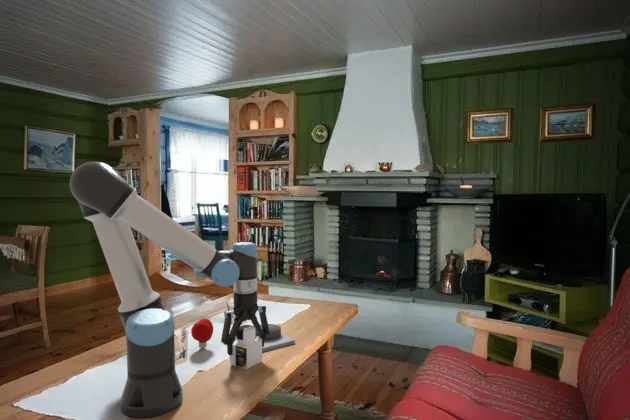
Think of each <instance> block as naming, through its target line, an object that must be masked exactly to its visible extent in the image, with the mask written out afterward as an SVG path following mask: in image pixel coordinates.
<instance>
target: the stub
mask: <svg viewBox="0 0 630 420" xmlns="http://www.w3.org/2000/svg"><path fill="white" fill-rule="evenodd" d="M260 327H261V329H262V325H261V324H260ZM268 327H269V332H270V333H269V335H266V338H265V339H264V341H267V340H274V339H277V338H279V337H280V336H281V333H282V327H281V326H280V325H278V324H273V323H268ZM262 331H263V330H262ZM255 337H259V336H258V334H257V332H256V330H255Z"/></svg>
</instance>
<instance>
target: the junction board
mask: <svg viewBox="0 0 630 420" xmlns="http://www.w3.org/2000/svg"><path fill="white" fill-rule="evenodd" d="M234 341H236V338H235V340H234ZM295 343H296V339H294V338H292V337H290V336H289V335H286V334H284V333H282V332H281V336H280V337H279V338H277V339H274V340H267V341H264V347H262V353H263V352H267V351H271V350H273V349H278V348H283V347H286V346H290V345H293V344H295Z"/></svg>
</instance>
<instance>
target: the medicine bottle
mask: <svg viewBox="0 0 630 420" xmlns="http://www.w3.org/2000/svg"><path fill="white" fill-rule="evenodd" d="M233 344H235V345H236V366H235V367H238V368H241V369H244V370H248V369H251V368H252V367H255V366H256V365H258V364H261V363H262V360H263V352H262V351H261V341H260V340H256V337H255V327H254V326H253V325H251V324H244V325H243V324H241V325H240V328H239V330H238V333H237V335H236V341H234V343H233ZM230 365H231V366H233V365H232V364H230Z"/></svg>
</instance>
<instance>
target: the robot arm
mask: <svg viewBox="0 0 630 420" xmlns="http://www.w3.org/2000/svg"><path fill="white" fill-rule="evenodd" d="M69 190H70V192H71V194H72V196H73V197H74V199H75V200H77V202H78V205H79V207H80V208H79V209H80V210H81V212H82V213H81V214H82V216H83V218H84V220H87V221H90V222H91V223H92V224H93V227H94V228H93V229H94V230H95V233H96V236H97V239H98V241H99V244H100V247H101V250H102V252H103V255H104V258H105V260H106V261H105V262H106V263H107V266H108V268H109V272H110V274H111V277H112V280H113V282H114V285H115V288H116V291H117V294H118V297H119V299H120V301H121V302H120V304H119V306H118V308H117V311H118V313H119V317H120V319H121V322H122V325H123V327H124V331H125V338H126V339H125V340H126V368H127V369H126V371H127V377H126V381H125V385H124V387H123V388H124V389H123V391H122V395H121V397H120V411H121V413H122V414H124V415H125V416H128V417H130V418H136V419H137V418H138V419H139V418H141V419H144V418H152V417H157V416H160V415H163V414H166V413H168V412H170V411H172V410H174V409H176V408H177V407H178V406H179V405H180V404H181V403H182V401H183V392H184V391H183V387H182V385H181V382H180V379H179V376H178V374H177V372H176V354H175V353H176V352H175V350H176V348H175V347H176V345H175V329H176V324H175V323H176V322H175V319H174V318H175V317H174V315H173V313H171V312H170V311H169V310H166V308H165V305H164V303H163V299H162V298H161V294H160V293H159V292H157V291H154V290H153V289H152V285H151V283H150V280H149V277H148V274H147V271H146V269H145V266H144V262H143V260H142V257H141V254H140V251H139V248H138V246H137V242H136V240H135V237H134V234H133V231H132V229H134V230H135V231H136V232H138V233H140V234H141V235H142V236H144V237H146V238H147V239H148V240H150V241H152V242H153V243H154V244H156V245H158V246H159V247H161V249H162V248H163V249H164V250H166V251H167V252H169V253H170V254H172V255H173V256H175V257H176V258H178V259H179V260H181V261H182V262H184V263H185V264H187V265H188V266H190V267H192V268H193V273H194V276H195V277H197V278H208V280H209V279H210V280H211V281H212V282H213V283H214V284H215V285H217V286H219V287H223V288H226V287H227V288H229V287H231V286H233V289H232V290H233V291H234V292H233V308H232V310H229V311H227V310H225V311H224V312H223V316H224V320H223V321H224V322H223V328H222V332H221V339H220V342H221V343H222V344H223V345H224V346H225V345H226V349H227V350H226V353H227V355H228V356H229V364H230V365H231V364H232V365H231V366H233V367H237V366H236V345H235V344H233V343H234V340H235V338H236V335H237V333H238V330H239V328H240V326H242V325H243V322H246V321H251V323H252V326H254V327H255V330H256V332H257V334H258V336H259V337H256V340H260V341H261V351H262V347H264V339H265V338H266V335H269V333H270V332H269V327H268V324H269V323H268V319H267V314H266V312H267V306H266V305H264V304H259V305H258V291H257V290H258V253H257V252H258V251H257V245H256V243H254V242H252V241H251V242H250V241H240V242H235V243H233V244H232V249H229V250H228V249H227V250H218V249H216V248H215V247H214V246H212V245H211V244H209V243H208V242H207V241H204V240H203V239H202V238H201V237H199V236H198V235H196V234H195V233H193V232H192V231H190V230H189V229H188V228H186V227H185V226H183V225H182V224H181V223H179V222H178V221H176V220H174V219H173V218H172V217H171V216H169V215H167V214H166V213H164V211H161V210H160V209H159V208H158V207H156V206H155V205H153V204H152V203H150V202H149V201H148V200H146V199H144V198H143V197H142V196H140V195H139V194H138V192H137V187H134V186H133V185H131V184H130V183H129V182H127V180H125V179H124V178H123V177H122V176H121V175H120V174H119V172H117V171H116V169H114V168H113V166H111V165H109V164H107V163H104V162H102V161H88V162H84V163H83V164H81V165H79V166H78V167H76V168H75V169H74V171H73V172H72V173H71V175H70V179H69ZM257 312H258V314H259V319H260V322H259V321H258V318H257V316H256V314H257ZM233 316H235V317H234V318H233ZM232 318H233V324H232ZM260 325H262V329H261V327H260ZM262 330H263V331H262Z"/></svg>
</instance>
